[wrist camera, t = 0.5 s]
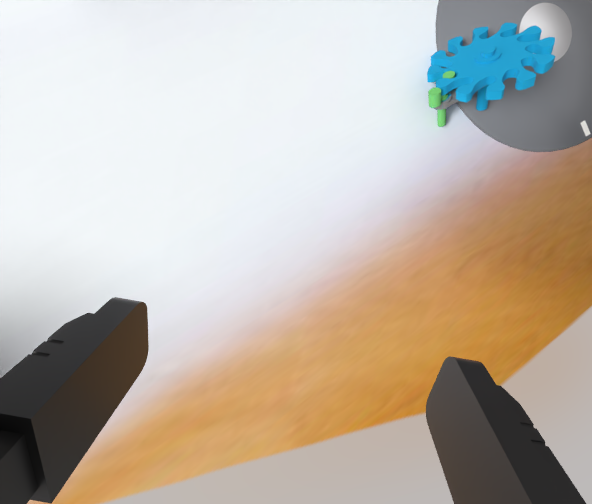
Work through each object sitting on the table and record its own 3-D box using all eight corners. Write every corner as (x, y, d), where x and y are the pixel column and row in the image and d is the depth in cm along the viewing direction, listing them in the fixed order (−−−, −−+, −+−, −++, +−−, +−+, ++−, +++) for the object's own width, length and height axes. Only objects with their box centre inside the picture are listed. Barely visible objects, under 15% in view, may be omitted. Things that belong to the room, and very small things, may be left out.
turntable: (391, -20, 33) (395, -28, 32) (585, -123, 35) (595, -133, 34) (491, 193, 36) (498, 192, 35) (666, 90, 38) (677, 86, 37)
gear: (499, 4, 32) (592, 37, 26) (492, 63, 36) (569, 103, 30) (396, 64, 33) (462, 111, 26) (401, 115, 37) (459, 164, 31)
